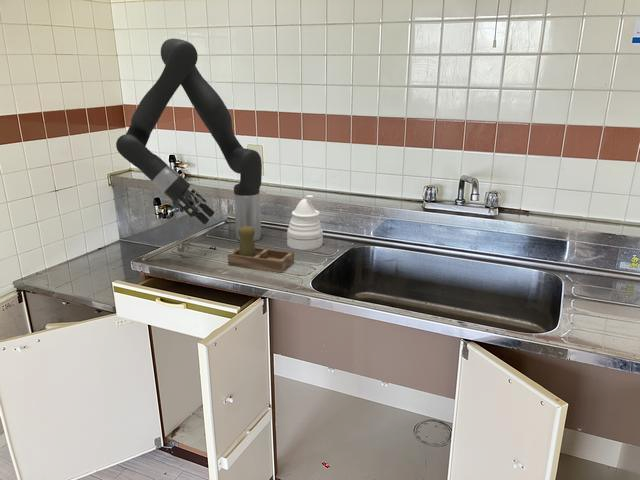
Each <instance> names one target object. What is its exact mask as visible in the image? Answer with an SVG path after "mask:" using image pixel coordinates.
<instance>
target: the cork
mask: <svg viewBox="0 0 640 480" xmlns="http://www.w3.org/2000/svg"><path fill="white" fill-rule="evenodd" d="M238 234H239V236H240V241H239V245H238V248H239V255H243V256H250V257H255V256H256V250H255V247H256V246H255V241H254V239H253V236H254V234H255V230H254V228H253V227H251V226H242V227H240V228H239V230H238Z"/></svg>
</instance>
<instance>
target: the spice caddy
mask: <svg viewBox="0 0 640 480" xmlns="http://www.w3.org/2000/svg"><path fill="white" fill-rule="evenodd" d="M255 250H256V256H255V257H250V256H243V255H239V247H237V248H236V249H234V250H233V251H231V252H229V253H228V254H227V265H228V266H234V267H240V268H245V269H252V270H253V269H254V270H260V271H266V272H273V273H279V274H282V273H283V272H285V271H286V270H287V269H288V268H289V267H291V265H293V264H294V263H295V252H294V251H287V250H280V249H271V248H265V247H258V246H255Z"/></svg>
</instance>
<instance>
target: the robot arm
mask: <svg viewBox="0 0 640 480" xmlns="http://www.w3.org/2000/svg"><path fill="white" fill-rule="evenodd" d="M160 57H161V60H162V62H163V64H164V65H165V66H164V68H163V70H162V73H161V74H160V76H159V77H158V79H157V80H156V82H155V83H154V84H153V85H152V86H151V87H150V89H149V90H148V91H147V92H146V94H144V96H143V97H142V99H141V100H140V102H139V103H138V106H137V107H136V109H135V111H134V112H133V115H132V116H131V119H130V125H129V127H128V129H127V131H126V133H124V134H122V135H120V136H119V137H118V138H117V140H116V144H115V147H116V150H117V152H118V153H119V155H121V157H123V158H124V159H125V160H126V161H128V162H129V163H131V165H133V166H134V167H136V168H137V169H138V170H139V171H140V172H142V173H143V174H144V176H146V177H147V178H148V179H149V180H150V181H152V183H153V184H154V185H155V186H156V187H157V188H158V189H159V190H160V191H161V192H162V193H164V195H165V196H167V197H168V198H169V199H170V200H171V201H172V202H177V201H178V200H179V202H178V203H177V206H178V207H180V208H181V209H182V210H183V211H184V212H185V213H186V214H187V215H188V216H190V218H193V217H194V218H197V220H199V221H200V222H201V223H202V224H203V225H206V224H207V223H209V221H210V217H211V218H212V217H213V216H214V215H215V211H214V210H213V209H212V208H211V207H210V206H209V205H207V204H208V203H207V200H206V199H205V198H204V197H203V196H202V195H201V194H199V193H198V192H197V191H196V190H195V189H193V188H192V189H191V190H189V188H190V187H191V184H190V183H189V182H188V181H187V180H186V179H185V178H184V177H183V176H181V175H180V174H179V173H178V172H177V170H175V169H173V167H171V166H169V165H168V164H167V163H166V162H165V161H164V160H163V159H162V158H161V157H159V156H158V155H157V154H155V153H153V152H152V151H151V150H149V149H148V147H147V144H148V142H149V139H150V137H151V134H152V133H153V130H154V128H155V127H156V125H157V124H158V122H159V120H160V118H161V116H162V114H163V113H164V110H166V107H167V105H168V104H169V102H170V101H171V99H172V98H173V95H174V94H175V93H176V91H177V90H178V89H179V87H180V86H181V87H182V89H183V90H184V92H185V94H186V96H187V97H188V99H189V101H190V103H191V105H192V107H193V108H194V109H195V112H196V113H197V115H198V117H199V118H200V120H201V121H202V122H203V124H204V126H205V127H206V128H207V130H208V131H209V133H210V134H211V136H212V138H213V139H214V141H215V143H216V144H217V145H218V147H219V149H220V151H221V153H222V155H223V157H224V159H225V161H226V163H227V165H228V167H229V168H230V170H231V171H233V172H234V173H236V174H240V175H239V177H240V179H239V183H237V184H234V186H233V198H234V199H233V201H234V222H235V224H234V225H235V239H236V240H237V241H239V242H240V236H239V234H238V230H239V228H240V227H242V226H251V227H253V228H254V230H255V234H254V236H253V239H254V242H255V241H258V240H260V239H261V238H262V223H261V222H262V216H261V201H260V200H261V199H260V198H261V197H260V195H261V194H260V189H261V185H262V174H263V173H262V172H263V171H262V167H263V165H262V164H263V162H262V158H261V155H260V153H259V152H258V151H257V150H255V149H251V148H245V147H243V146H242V145H241V143H240V141H239V140H238V138H237V137H236V135H235V132H234V129H233V119H232V115H231V112H230V111H229V109H228V107H227V105H226V103H224V100H223V99H222V97H221V96H220V94H218V92H217V91H216V90H215V89H214V88H213V87H212V86H211V85H210V84H209V82H208V81H207V80H206V79H205V77H204V76H203V75H202V73H200V71H199V70H198V67H197V66H196V65H197V62H198V57H199V56H198V51H197V48H196V47H195V46H194V44H193V43H191V42H189V41H188V40H184V39H180V38H168V39H166V40H165V41H163V43H162V44H161V47H160ZM203 212H204V213H203ZM205 214H206V215H207V216H206V215H205ZM208 217H209V218H208Z"/></svg>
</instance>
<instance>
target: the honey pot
mask: <svg viewBox="0 0 640 480" xmlns="http://www.w3.org/2000/svg"><path fill="white" fill-rule="evenodd" d="M313 199H314V195H312V194H311V195H309V194H308V195H305V198H302V199H301V200H299V202H298V204H297V205H296V206H295V208H294V209H293V211H292V212H291V215H292V216H291V219H290V221H289V224H288V228H287V230H286V231H287V233H286V234H287V235H286V236H287V237H286V239H287V240H286V241H287V242H286V244H287V247H290V248H291V249H295V250H301V251H302V250H303V251H305V250H306V251H307V250H314V249H319V248H321V247H322V246H323V245H322V244H324V237H323V236H324V235H323V234H324V233H323V232H324V231H323V227H322V224H321V222H320V221H321V220H320V219H319V216H320V211H319V210H317V209H316V208H315V207H314V205H313V204H312V201H313ZM320 246H321V247H320ZM318 247H319V248H318Z"/></svg>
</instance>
